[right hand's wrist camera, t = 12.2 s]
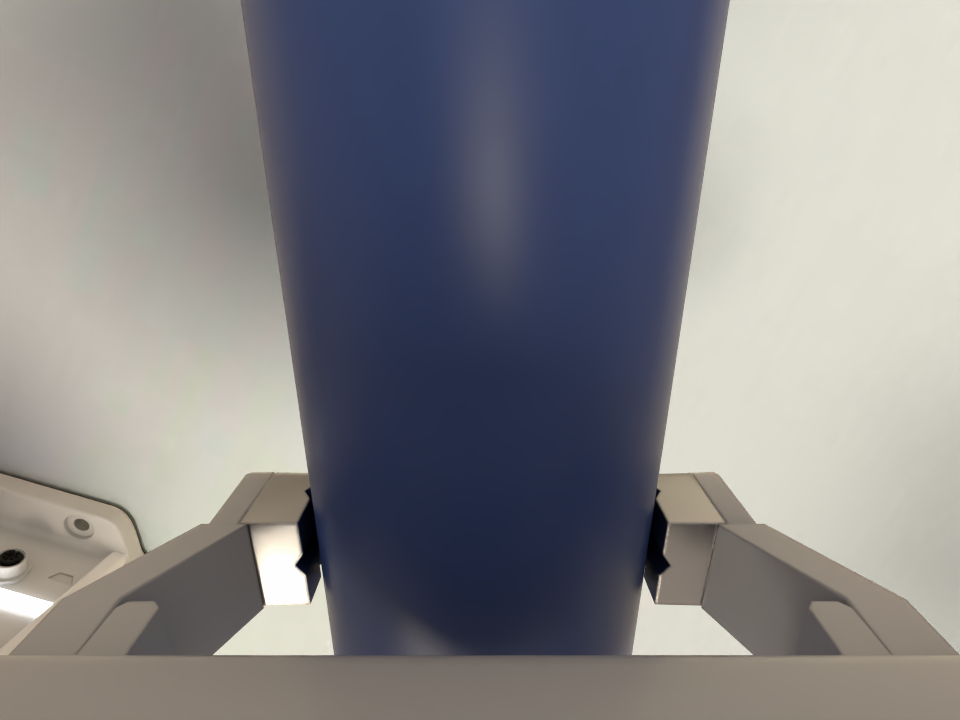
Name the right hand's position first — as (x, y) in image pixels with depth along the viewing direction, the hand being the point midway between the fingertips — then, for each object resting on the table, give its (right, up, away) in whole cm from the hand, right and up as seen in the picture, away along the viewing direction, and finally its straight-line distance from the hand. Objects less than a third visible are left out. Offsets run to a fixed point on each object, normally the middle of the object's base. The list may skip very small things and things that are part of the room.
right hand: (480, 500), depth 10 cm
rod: (0, +9, -1) cm, 9 cm away
